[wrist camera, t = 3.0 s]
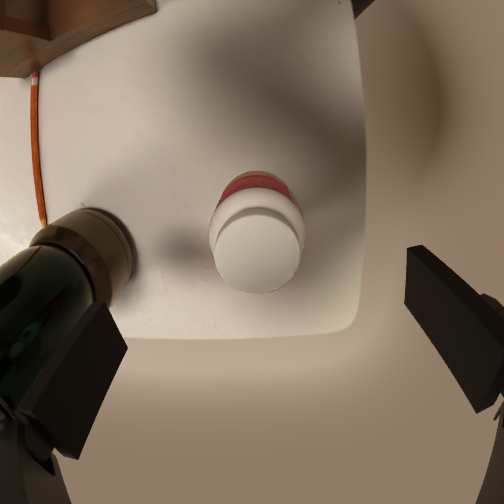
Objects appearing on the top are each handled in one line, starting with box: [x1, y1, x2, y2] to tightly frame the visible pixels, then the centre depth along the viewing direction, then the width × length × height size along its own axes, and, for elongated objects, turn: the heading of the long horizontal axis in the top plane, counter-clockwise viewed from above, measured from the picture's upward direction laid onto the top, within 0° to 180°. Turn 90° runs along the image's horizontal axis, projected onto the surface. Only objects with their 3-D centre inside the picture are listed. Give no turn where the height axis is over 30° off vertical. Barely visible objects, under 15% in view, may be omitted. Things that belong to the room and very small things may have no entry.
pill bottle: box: [209, 171, 306, 294], centre depth 21 cm, size 6×6×11 cm
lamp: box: [0, 210, 132, 412], centre depth 18 cm, size 10×10×22 cm
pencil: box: [30, 71, 46, 228], centre depth 23 cm, size 1×18×1 cm, turn 179°
